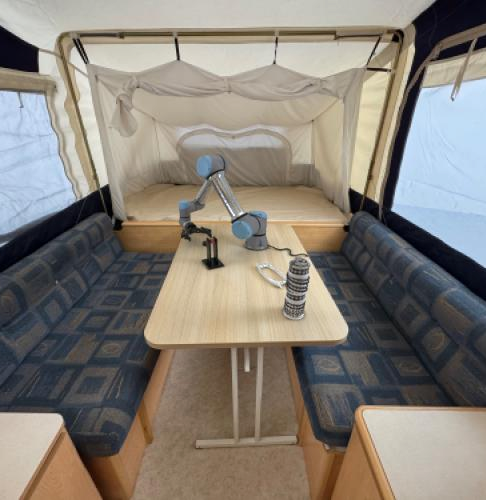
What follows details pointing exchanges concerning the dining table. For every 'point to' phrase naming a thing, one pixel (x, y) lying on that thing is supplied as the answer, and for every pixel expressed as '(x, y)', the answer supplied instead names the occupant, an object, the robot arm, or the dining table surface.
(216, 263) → the bracket
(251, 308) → the dining table surface
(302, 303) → the decorative candle
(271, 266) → the door handle
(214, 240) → the lever
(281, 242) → the dining table surface
